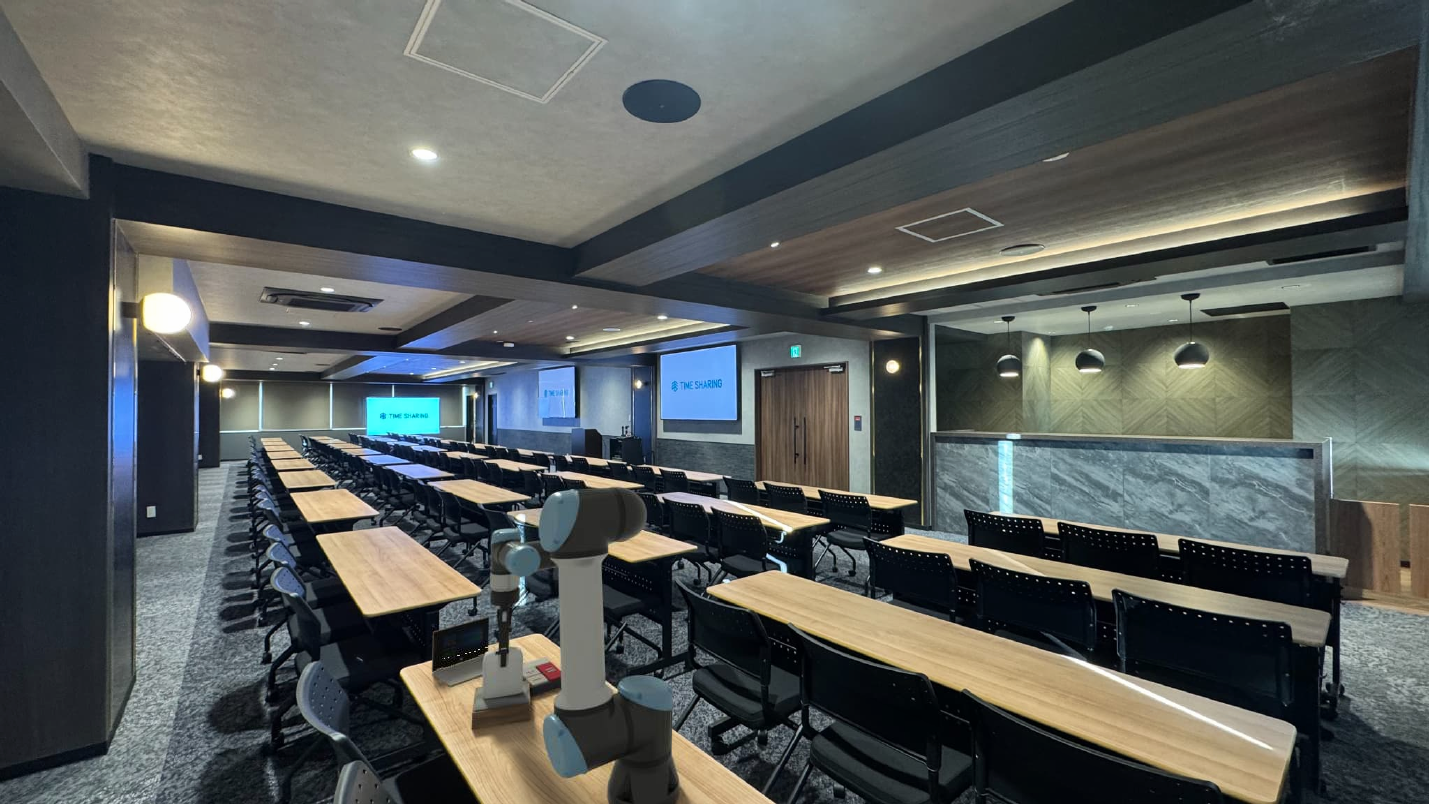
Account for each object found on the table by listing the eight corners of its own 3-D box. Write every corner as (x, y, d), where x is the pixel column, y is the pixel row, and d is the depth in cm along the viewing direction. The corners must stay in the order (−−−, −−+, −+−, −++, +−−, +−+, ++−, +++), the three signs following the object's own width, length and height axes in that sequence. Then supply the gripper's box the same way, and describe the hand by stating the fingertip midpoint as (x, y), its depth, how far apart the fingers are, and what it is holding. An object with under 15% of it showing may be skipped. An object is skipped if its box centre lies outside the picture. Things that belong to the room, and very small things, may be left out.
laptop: (450, 688, 163) (451, 643, 163) (431, 674, 171) (432, 631, 171) (507, 667, 177) (508, 626, 177) (487, 656, 185) (488, 616, 185)
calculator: (531, 685, 158) (511, 664, 169) (530, 700, 158) (510, 678, 170) (567, 674, 165) (546, 654, 177) (567, 688, 165) (545, 668, 177)
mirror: (529, 720, 146) (530, 703, 146) (471, 729, 142) (472, 712, 142) (528, 694, 159) (529, 679, 160) (475, 702, 155) (475, 686, 155)
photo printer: (481, 701, 147) (482, 653, 147) (482, 693, 151) (483, 647, 151) (522, 695, 151) (524, 648, 151) (522, 687, 155) (523, 642, 155)
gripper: (520, 599, 141) (518, 686, 140) (519, 574, 164) (518, 648, 163) (488, 602, 138) (486, 690, 137) (492, 577, 162) (490, 651, 161)
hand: (503, 667), depth 150 cm, fingers open, 13 cm apart
